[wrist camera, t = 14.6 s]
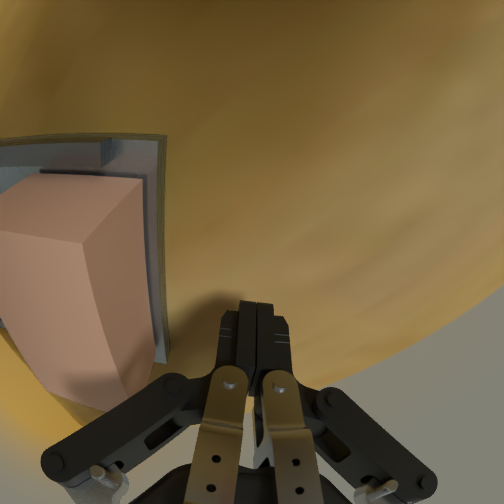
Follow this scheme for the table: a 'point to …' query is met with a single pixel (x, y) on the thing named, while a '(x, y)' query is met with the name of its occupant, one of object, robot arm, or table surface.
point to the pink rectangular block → (78, 285)
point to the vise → (112, 165)
